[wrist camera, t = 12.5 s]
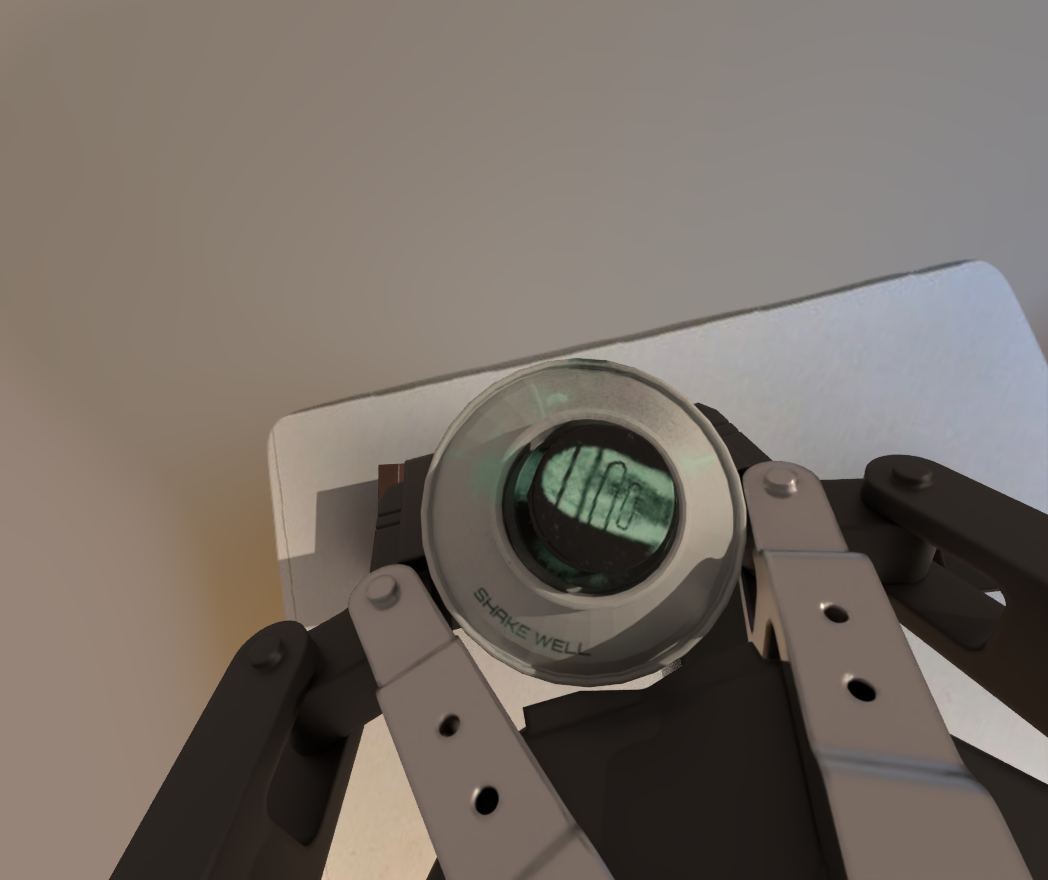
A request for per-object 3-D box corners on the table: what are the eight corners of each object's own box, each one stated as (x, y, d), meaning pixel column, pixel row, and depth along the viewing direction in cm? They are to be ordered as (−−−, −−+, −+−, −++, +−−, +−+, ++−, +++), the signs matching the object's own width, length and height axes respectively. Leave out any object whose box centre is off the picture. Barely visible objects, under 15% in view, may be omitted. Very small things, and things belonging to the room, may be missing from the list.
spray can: (489, 493, 25) (337, 318, 6) (590, 474, 26) (768, 240, 6) (507, 600, 24) (393, 817, 5) (613, 579, 24) (927, 709, 5)
